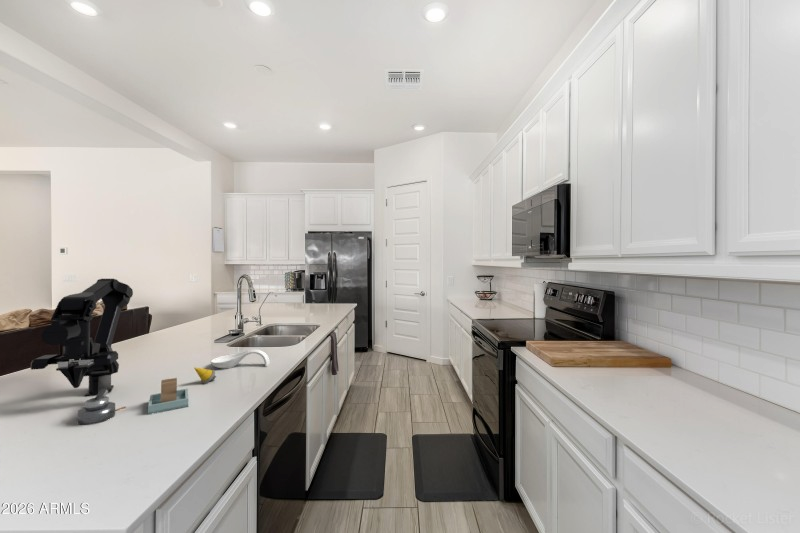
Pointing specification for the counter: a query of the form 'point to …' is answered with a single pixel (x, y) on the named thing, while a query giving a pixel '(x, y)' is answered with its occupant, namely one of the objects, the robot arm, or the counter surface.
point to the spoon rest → (237, 359)
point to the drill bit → (205, 374)
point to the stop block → (168, 390)
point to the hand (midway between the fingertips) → (76, 387)
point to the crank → (100, 394)
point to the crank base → (96, 415)
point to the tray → (157, 406)
